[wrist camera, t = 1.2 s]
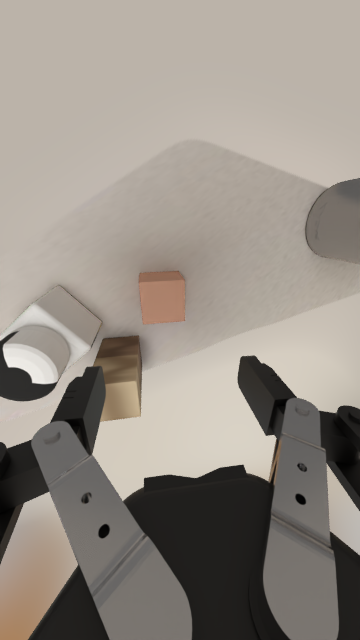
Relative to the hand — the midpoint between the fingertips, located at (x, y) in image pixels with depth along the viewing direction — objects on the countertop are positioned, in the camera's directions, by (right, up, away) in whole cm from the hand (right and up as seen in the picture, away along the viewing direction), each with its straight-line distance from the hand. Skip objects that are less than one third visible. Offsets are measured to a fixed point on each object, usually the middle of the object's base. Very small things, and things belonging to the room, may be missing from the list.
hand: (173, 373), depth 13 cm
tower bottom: (-8, -2, +20) cm, 21 cm away
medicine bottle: (-15, +3, +17) cm, 23 cm away
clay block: (-2, +7, +17) cm, 18 cm away
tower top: (-7, -4, +15) cm, 17 cm away
